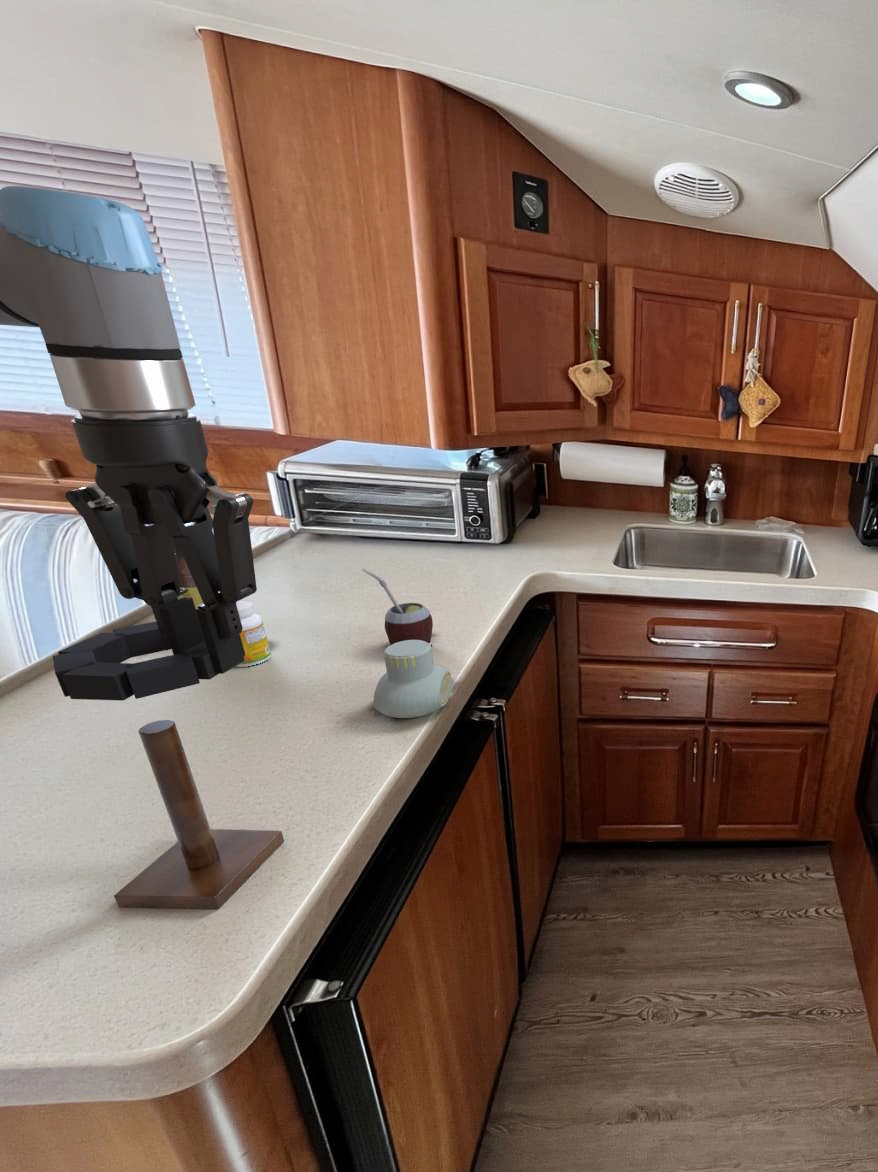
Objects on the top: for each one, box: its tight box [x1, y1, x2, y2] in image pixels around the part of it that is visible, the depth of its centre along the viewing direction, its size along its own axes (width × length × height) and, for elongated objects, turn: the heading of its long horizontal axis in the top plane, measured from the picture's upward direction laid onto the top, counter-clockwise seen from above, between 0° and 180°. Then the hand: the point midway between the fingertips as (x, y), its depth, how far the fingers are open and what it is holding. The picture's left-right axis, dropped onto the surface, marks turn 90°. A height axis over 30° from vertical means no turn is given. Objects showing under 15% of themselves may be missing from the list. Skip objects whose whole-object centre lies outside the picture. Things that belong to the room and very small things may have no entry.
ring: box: [52, 620, 245, 701], centre depth 60 cm, size 12×12×2 cm
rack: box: [113, 719, 285, 910], centre depth 61 cm, size 9×9×18 cm
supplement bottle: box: [234, 600, 272, 668], centre depth 101 cm, size 5×5×10 cm
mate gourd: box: [361, 568, 434, 645], centre depth 108 cm, size 8×8×15 cm
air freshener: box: [373, 640, 452, 719], centre depth 93 cm, size 11×8×10 cm
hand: (212, 665), depth 61 cm, fingers closed on ring, 2 cm apart
